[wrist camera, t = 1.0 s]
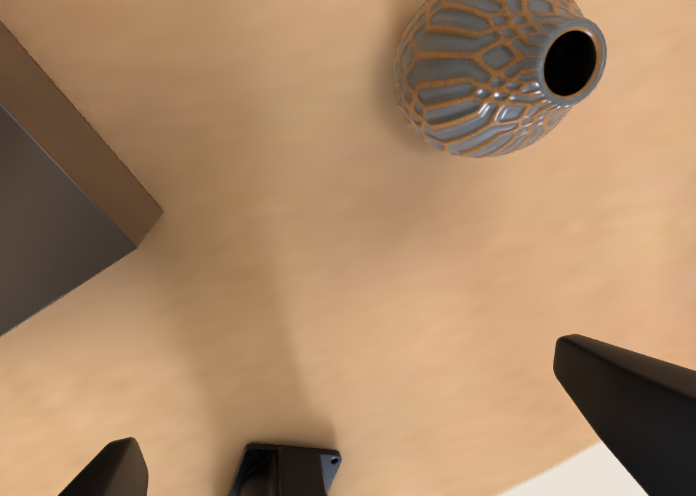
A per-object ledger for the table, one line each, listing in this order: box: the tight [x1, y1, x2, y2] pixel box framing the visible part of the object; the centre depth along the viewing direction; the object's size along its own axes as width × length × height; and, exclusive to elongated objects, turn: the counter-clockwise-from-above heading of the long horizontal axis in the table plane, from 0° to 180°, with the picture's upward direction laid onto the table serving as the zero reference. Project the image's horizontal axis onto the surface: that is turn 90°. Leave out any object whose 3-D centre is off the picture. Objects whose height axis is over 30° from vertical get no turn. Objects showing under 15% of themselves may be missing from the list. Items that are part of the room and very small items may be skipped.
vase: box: [393, 0, 607, 158], centre depth 16 cm, size 7×7×9 cm
